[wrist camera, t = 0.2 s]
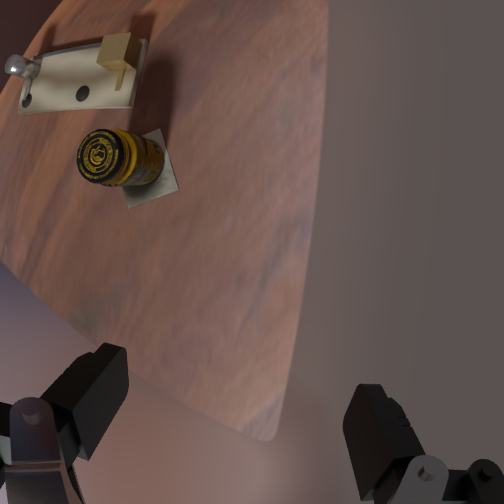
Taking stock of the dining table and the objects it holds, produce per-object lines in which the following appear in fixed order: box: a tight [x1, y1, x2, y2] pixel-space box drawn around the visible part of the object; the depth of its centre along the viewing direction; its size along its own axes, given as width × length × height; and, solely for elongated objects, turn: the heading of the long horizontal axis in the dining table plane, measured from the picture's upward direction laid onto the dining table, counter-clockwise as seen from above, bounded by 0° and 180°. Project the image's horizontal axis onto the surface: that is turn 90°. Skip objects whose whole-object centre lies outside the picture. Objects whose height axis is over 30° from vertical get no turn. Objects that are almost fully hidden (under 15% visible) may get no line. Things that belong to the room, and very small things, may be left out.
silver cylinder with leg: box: [5, 54, 41, 100], centre depth 29 cm, size 6×3×6 cm, turn 171°
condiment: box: [77, 128, 179, 208], centre depth 30 cm, size 7×8×12 cm
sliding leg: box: [96, 32, 143, 91], centre depth 30 cm, size 7×4×4 cm, turn 171°
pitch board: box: [17, 39, 149, 115], centre depth 33 cm, size 10×22×2 cm, turn 81°
